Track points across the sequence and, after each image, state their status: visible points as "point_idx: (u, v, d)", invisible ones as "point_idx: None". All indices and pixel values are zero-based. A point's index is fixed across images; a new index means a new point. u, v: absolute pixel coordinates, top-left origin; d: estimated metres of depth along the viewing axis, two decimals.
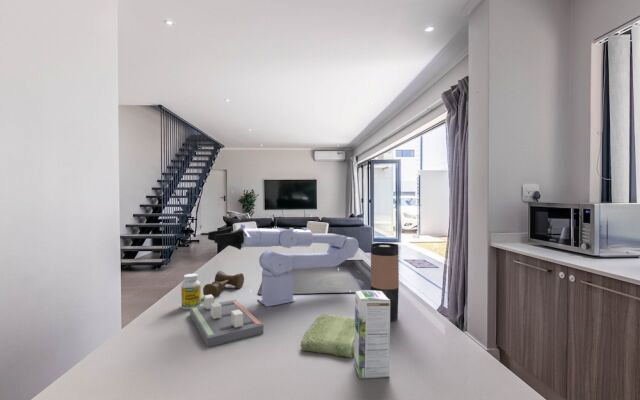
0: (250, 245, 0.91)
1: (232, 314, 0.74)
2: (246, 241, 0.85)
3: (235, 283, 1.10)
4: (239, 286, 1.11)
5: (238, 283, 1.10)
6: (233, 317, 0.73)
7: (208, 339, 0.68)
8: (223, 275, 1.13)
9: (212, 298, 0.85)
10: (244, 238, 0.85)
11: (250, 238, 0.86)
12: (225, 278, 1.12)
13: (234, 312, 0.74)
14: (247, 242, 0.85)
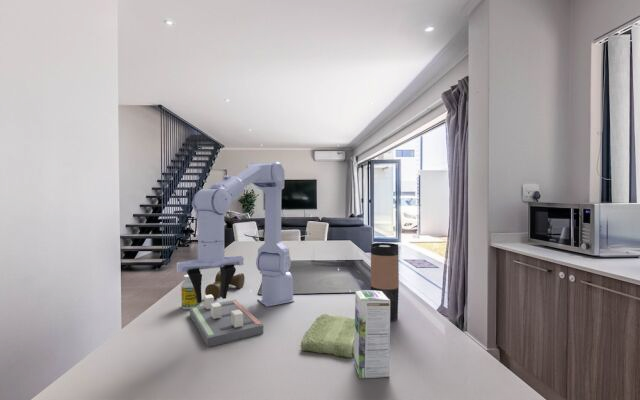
0: None
1: (232, 314, 0.74)
2: None
3: (236, 283, 1.10)
4: (240, 286, 1.11)
5: (239, 283, 1.10)
6: (233, 317, 0.73)
7: (208, 339, 0.68)
8: None
9: (212, 298, 0.85)
10: None
11: None
12: None
13: (234, 312, 0.74)
14: None
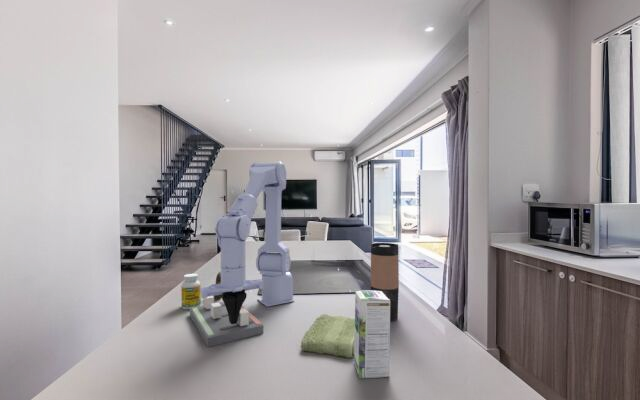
0: None
1: None
2: None
3: None
4: None
5: None
6: (239, 316, 0.74)
7: (208, 339, 0.68)
8: None
9: (212, 298, 0.85)
10: None
11: None
12: None
13: (240, 311, 0.74)
14: None
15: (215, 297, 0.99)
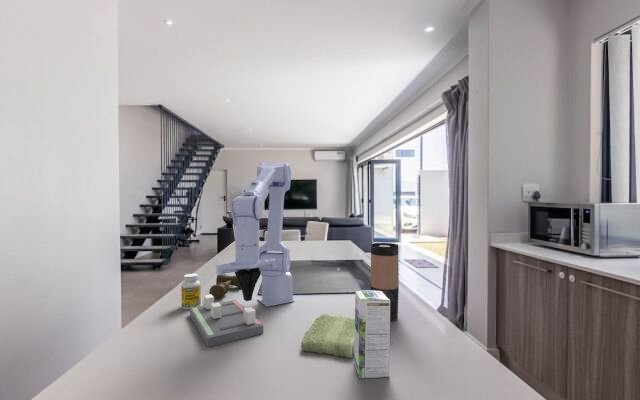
0: None
1: (244, 312, 0.76)
2: None
3: (238, 283, 1.10)
4: None
5: None
6: (246, 314, 0.75)
7: (208, 339, 0.68)
8: (225, 276, 1.12)
9: (212, 298, 0.85)
10: None
11: None
12: (227, 279, 1.11)
13: (246, 310, 0.75)
14: None
15: (217, 297, 0.99)
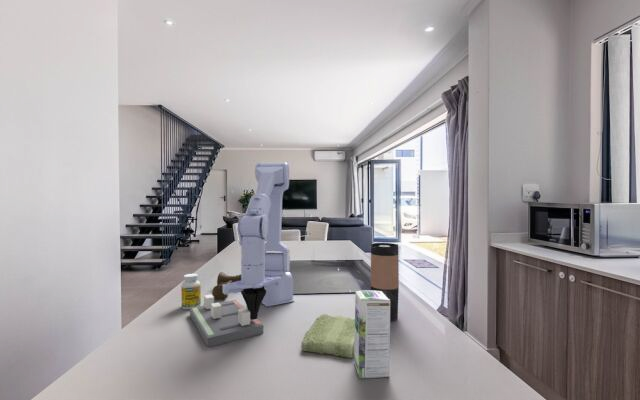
0: None
1: (239, 313, 0.75)
2: None
3: None
4: None
5: None
6: (240, 315, 0.74)
7: (208, 339, 0.68)
8: (225, 276, 1.11)
9: (212, 298, 0.85)
10: None
11: None
12: (228, 279, 1.11)
13: (241, 311, 0.75)
14: None
15: (220, 298, 0.99)
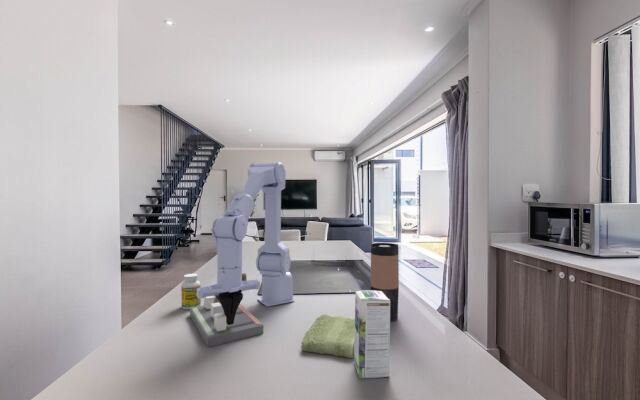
0: None
1: (214, 318, 0.72)
2: None
3: None
4: None
5: None
6: (216, 321, 0.71)
7: (208, 339, 0.68)
8: None
9: (212, 298, 0.85)
10: None
11: None
12: None
13: (217, 315, 0.71)
14: None
15: None
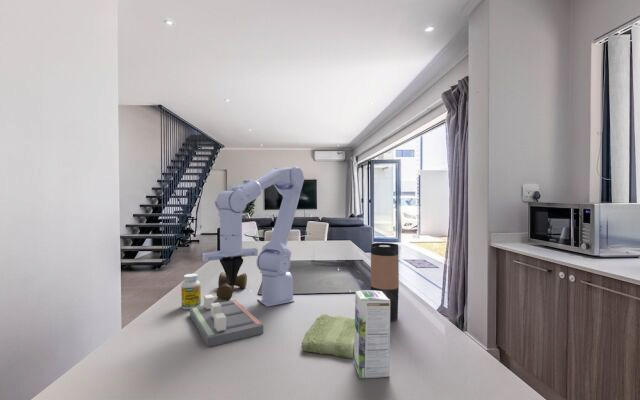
0: None
1: (214, 318, 0.72)
2: None
3: (241, 283, 1.10)
4: (245, 286, 1.11)
5: (244, 283, 1.10)
6: (216, 321, 0.71)
7: (208, 339, 0.68)
8: None
9: (212, 298, 0.85)
10: None
11: None
12: None
13: (217, 315, 0.71)
14: None
15: (225, 298, 0.99)
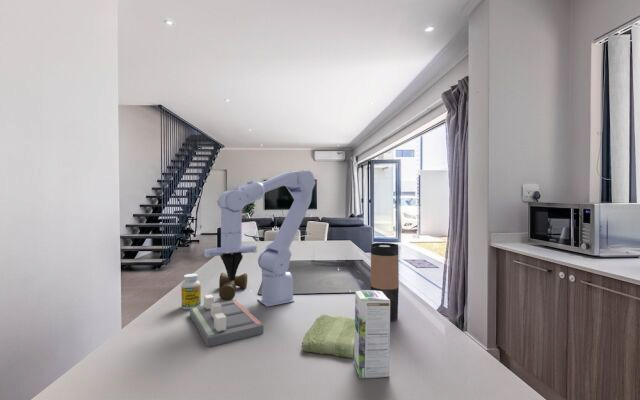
0: None
1: (214, 318, 0.72)
2: None
3: (242, 283, 1.10)
4: (246, 286, 1.11)
5: (245, 283, 1.10)
6: (216, 321, 0.71)
7: (208, 339, 0.68)
8: (227, 276, 1.11)
9: (212, 298, 0.85)
10: None
11: None
12: None
13: (217, 315, 0.71)
14: None
15: (227, 298, 0.99)
